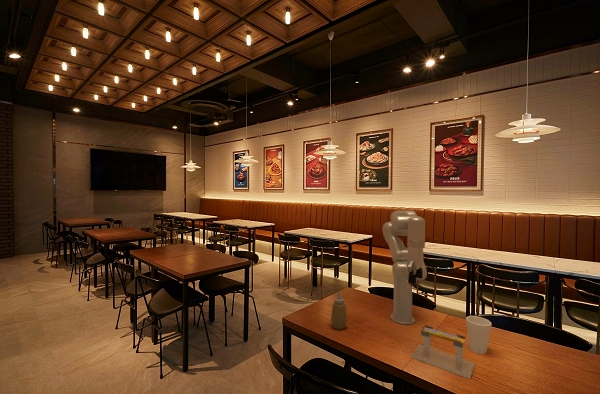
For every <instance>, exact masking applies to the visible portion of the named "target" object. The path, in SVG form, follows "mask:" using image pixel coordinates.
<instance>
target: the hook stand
mask: <svg viewBox="0 0 600 394" xmlns="http://www.w3.org/2000/svg"><path fill="white" fill-rule="evenodd" d="M424 326H425V328H430V329H433V330H434V326H430V325H424ZM431 336H432V335H429V333H428V332H425V331H421V330H420V337H422V338H423V345H422V344H421V343H420V344H418V346H417V347H416V348H415V350H414V351H413V352H412V354H411V357H412V359H416V360H418V361H420V362H422V363H425V364H428V365H431V366H434V367H437V368H439V369H442V370H444V371H447V372H450V373H453V374H455V375H458V376H461V377H462V378H463V377H464V378H466V379H468V380H471V379H472V378H471V377H472V374H473V372H474V368H475V362H474V361H471V360H468V359H465V358H463V357H464V356H463V354H464V353H463V352H464V351H463V350H464V349H463V348H464V346H465V344H466V342H465V343H461V342H458V341H453V344H452V345H453V348H455V355H453V354H450V353H447V352H444V351H441V350H438V349H435V348H432V347H431ZM456 336H458V337H460V338H462V339H466V336H465V335H462V334H458V333H456Z"/></svg>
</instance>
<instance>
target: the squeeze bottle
mask: <svg viewBox="0 0 600 394" xmlns="http://www.w3.org/2000/svg"><path fill="white" fill-rule="evenodd" d="M330 320H331V322H332V323H331V324H332V326H333V328H334V329H336V330H344V329H345V328H346V324H347V323H348V316H347V307H346V303H345V299H344V298H343V297H342V293H341V291H338V292H337V297H335V298H334V302H333V303H332V310H331V319H330Z"/></svg>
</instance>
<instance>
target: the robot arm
mask: <svg viewBox="0 0 600 394" xmlns="http://www.w3.org/2000/svg"><path fill="white" fill-rule="evenodd" d="M382 234H383V238H384V240H385V242H386V243H387V245H388V247H389V252H390V255H391V259H392V262H393V264H392V267H391V268H392V269H391V271H392V277H393V280H392V281H393V311H392V313H391V314H390V316H389V317H390V319H391V321H393V322H395V323H397V324H400V325H413V324H414V323H416V318H415V317H414V316H413V287H412V285H411V284H413V285H414V284H417V281H423V280H426V279H427V275H428V272H427V267H426V264H425V262H424V249H425V248H426V219H425V218H423V217H421V216H419V215H417V212H415V211H414V210H409V209H408V210H402V209H398V210H394V211H393V212H392V213H391V214H390V221H387V222H385V223H384V224H383V225H382ZM398 236H401V237H402V236H404V237H405V236H406V237H407V247H406V246H405V245H404V242H403V240H402V239H401V238H400V237H398Z"/></svg>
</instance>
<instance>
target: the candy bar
mask: <svg viewBox="0 0 600 394" xmlns="http://www.w3.org/2000/svg"><path fill="white" fill-rule="evenodd" d="M425 326H426V325H424V326H421V328H420V332H421V331H425V332H428V333H429V335H431V336H433V337H436V338H439V339H442V340H446V341H449V342H453V341H458V342H461V343H465V344H466V341H467V340H468V338H467V339H466V338H465V339H462V338H460V337H458V336H457V335H453V334H451V333H447V332H443V331H439V330H436V329H434V328H433V329H430V328H425Z"/></svg>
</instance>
